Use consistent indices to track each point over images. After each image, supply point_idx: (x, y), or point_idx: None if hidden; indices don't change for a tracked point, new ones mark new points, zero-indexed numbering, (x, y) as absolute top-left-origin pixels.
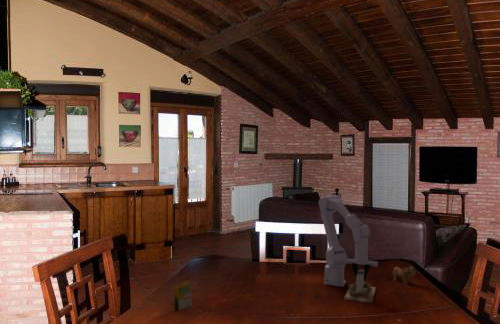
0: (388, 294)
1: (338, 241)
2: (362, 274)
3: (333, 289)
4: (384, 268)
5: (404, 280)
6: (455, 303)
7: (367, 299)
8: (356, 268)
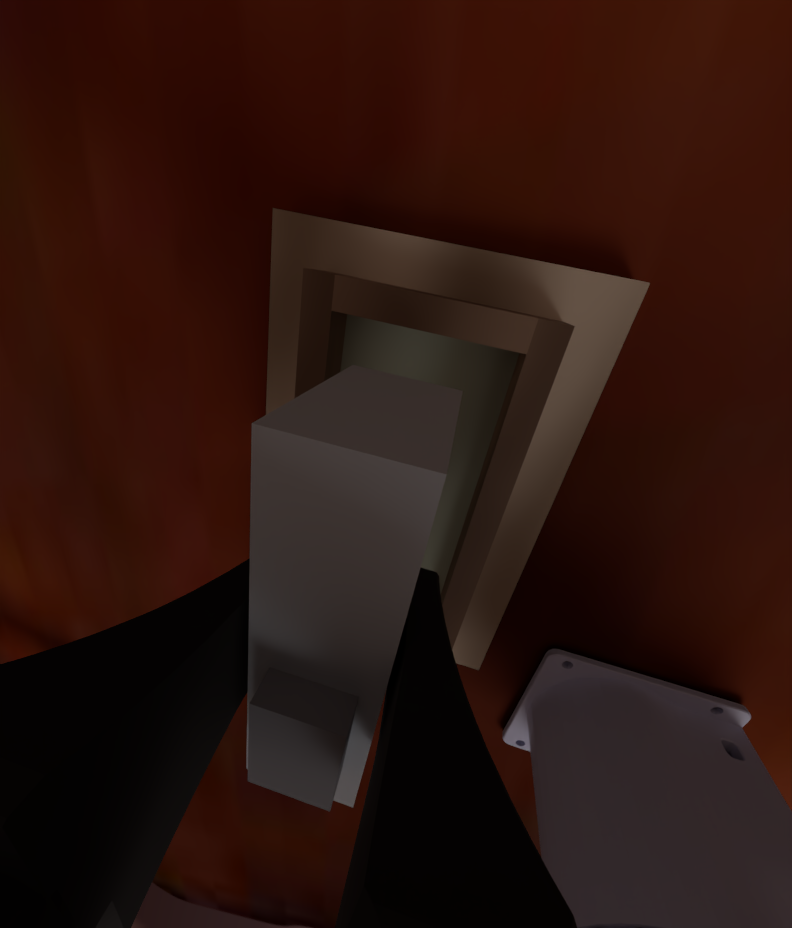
0: (168, 494)
1: None
2: (280, 618)
3: (681, 592)
4: (240, 851)
5: None
6: None
7: (331, 230)
8: (386, 823)
